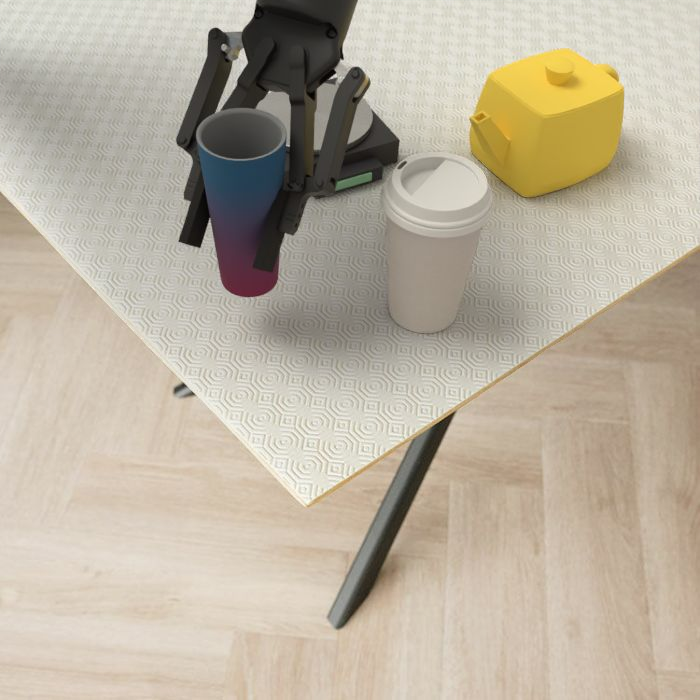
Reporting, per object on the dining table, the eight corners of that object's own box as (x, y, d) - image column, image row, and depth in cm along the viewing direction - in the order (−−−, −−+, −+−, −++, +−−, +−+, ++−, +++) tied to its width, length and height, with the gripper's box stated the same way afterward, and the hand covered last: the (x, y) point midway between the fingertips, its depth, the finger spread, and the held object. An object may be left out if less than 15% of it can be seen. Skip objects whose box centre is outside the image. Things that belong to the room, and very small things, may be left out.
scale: (232, 126, 105) (230, 103, 102) (341, 98, 109) (341, 76, 107) (291, 207, 95) (290, 184, 93) (407, 173, 100) (409, 151, 98)
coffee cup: (430, 261, 90) (447, 133, 79) (494, 318, 85) (522, 190, 74) (352, 298, 86) (358, 169, 75) (414, 361, 81) (431, 232, 70)
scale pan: (236, 103, 102) (236, 97, 102) (340, 78, 107) (340, 72, 106) (284, 167, 95) (284, 161, 94) (393, 137, 99) (394, 131, 98)
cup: (291, 253, 82) (290, 110, 71) (285, 307, 77) (282, 162, 66) (216, 249, 82) (203, 105, 71) (205, 303, 77) (189, 157, 66)
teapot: (496, 219, 95) (515, 123, 86) (428, 157, 102) (439, 62, 93) (636, 163, 102) (666, 68, 94) (564, 108, 109) (586, 16, 101)
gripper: (436, 22, 73) (344, 296, 75) (227, -32, 77) (146, 228, 79) (418, -14, 66) (318, 291, 68) (189, -71, 70) (101, 216, 72)
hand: (225, 256), depth 73 cm, fingers closed on cup, 6 cm apart
